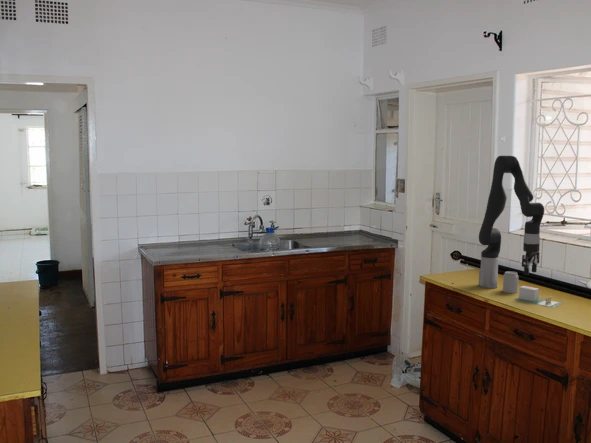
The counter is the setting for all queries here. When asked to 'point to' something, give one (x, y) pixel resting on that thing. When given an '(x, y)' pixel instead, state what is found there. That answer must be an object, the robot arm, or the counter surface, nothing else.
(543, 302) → the board
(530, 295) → the block
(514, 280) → the can
